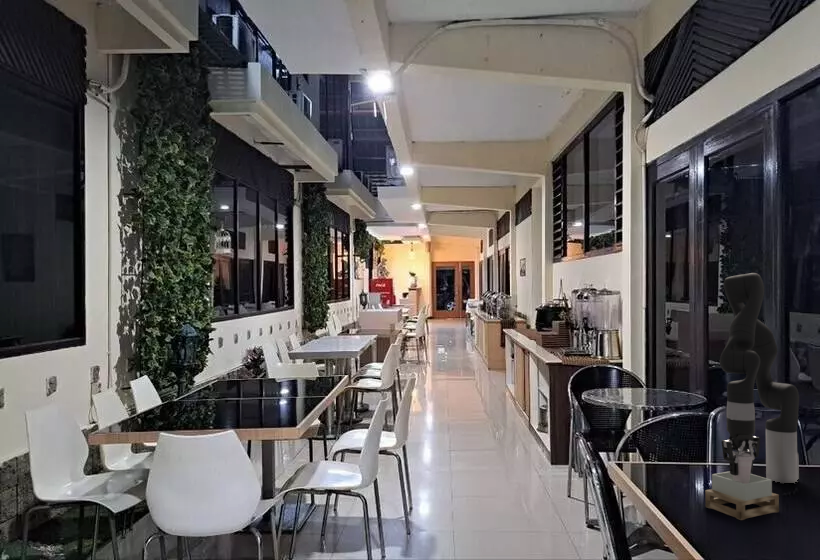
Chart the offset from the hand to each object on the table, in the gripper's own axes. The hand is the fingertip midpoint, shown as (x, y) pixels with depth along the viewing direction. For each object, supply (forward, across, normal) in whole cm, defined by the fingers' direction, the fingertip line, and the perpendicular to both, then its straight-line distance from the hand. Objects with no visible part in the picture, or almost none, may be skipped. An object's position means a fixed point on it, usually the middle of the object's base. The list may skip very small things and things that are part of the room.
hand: (741, 473), depth 185 cm
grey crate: (+6, 0, 0) cm, 6 cm away
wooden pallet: (+11, 0, 0) cm, 11 cm away
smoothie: (+4, 0, 0) cm, 4 cm away
